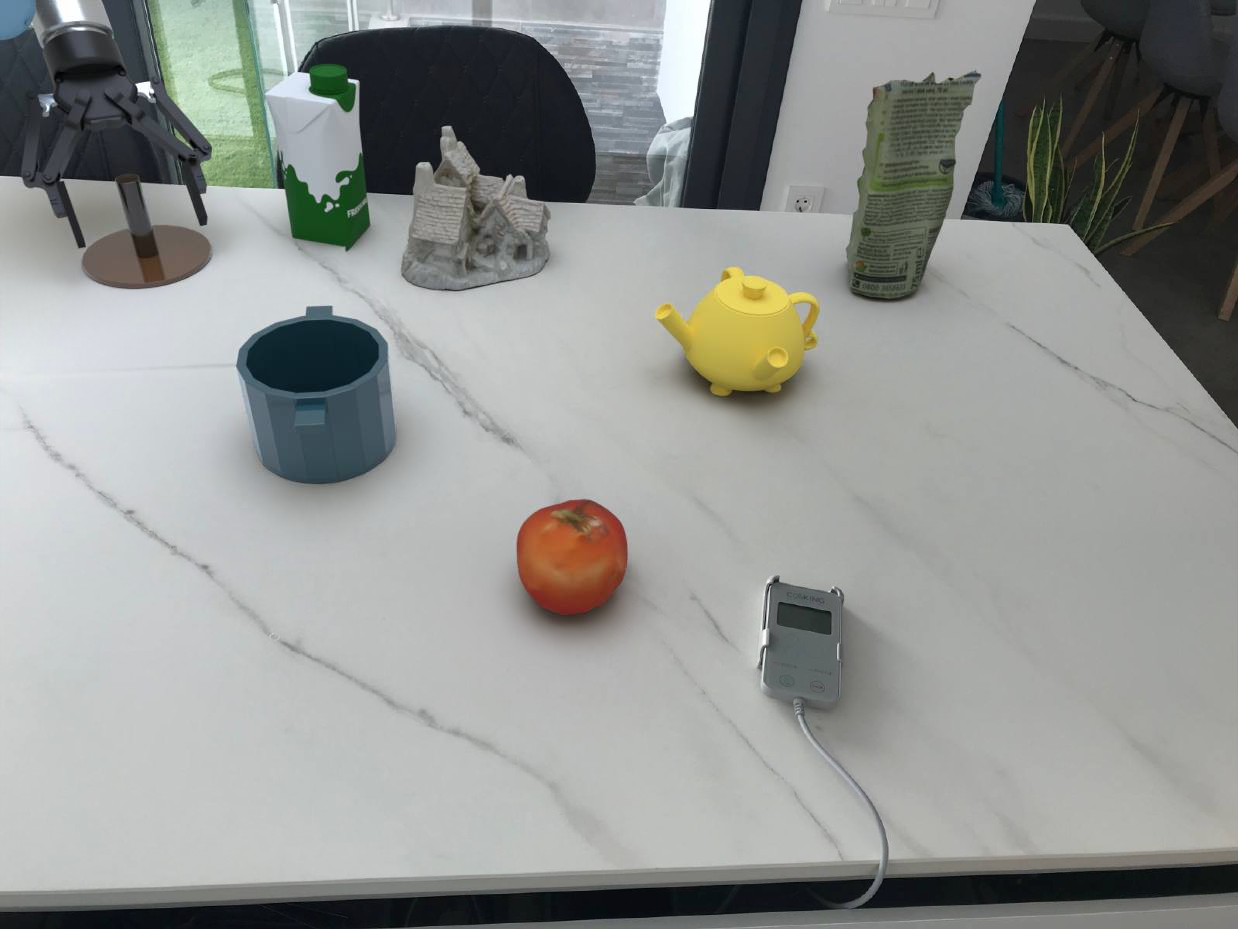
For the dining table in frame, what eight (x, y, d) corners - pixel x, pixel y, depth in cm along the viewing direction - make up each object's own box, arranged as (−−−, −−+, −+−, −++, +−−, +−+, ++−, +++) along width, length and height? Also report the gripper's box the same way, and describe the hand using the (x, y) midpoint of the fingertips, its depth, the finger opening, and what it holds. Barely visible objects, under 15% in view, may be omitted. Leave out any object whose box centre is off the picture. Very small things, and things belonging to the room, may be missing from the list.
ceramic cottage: (381, 273, 113) (379, 149, 104) (452, 221, 126) (456, 105, 116) (501, 316, 110) (510, 191, 101) (562, 258, 122) (575, 142, 113)
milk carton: (352, 255, 117) (331, 86, 103) (280, 243, 118) (251, 74, 104) (380, 222, 123) (364, 60, 110) (312, 211, 124) (288, 49, 111)
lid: (72, 295, 106) (42, 208, 99) (98, 235, 116) (73, 152, 109) (204, 291, 109) (184, 205, 102) (219, 232, 119) (201, 151, 112)
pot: (246, 509, 83) (225, 422, 77) (265, 384, 97) (247, 301, 90) (397, 498, 86) (388, 413, 79) (395, 378, 99) (387, 296, 93)
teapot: (643, 379, 102) (654, 286, 94) (707, 323, 111) (721, 234, 103) (767, 434, 96) (788, 339, 89) (823, 370, 105) (846, 280, 98)
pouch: (822, 288, 118) (872, 80, 102) (844, 246, 127) (893, 47, 111) (914, 312, 116) (979, 102, 99) (929, 268, 124) (993, 67, 108)
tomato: (544, 647, 74) (547, 576, 69) (496, 567, 80) (495, 495, 75) (649, 607, 78) (659, 537, 73) (596, 533, 84) (601, 463, 79)
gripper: (193, 49, 116) (253, 223, 116) (-41, 74, 105) (25, 265, 106) (194, 15, 109) (258, 200, 109) (-56, 39, 98) (16, 243, 99)
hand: (144, 232), depth 108 cm, fingers open, 12 cm apart
